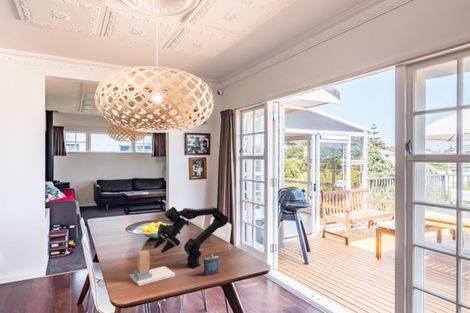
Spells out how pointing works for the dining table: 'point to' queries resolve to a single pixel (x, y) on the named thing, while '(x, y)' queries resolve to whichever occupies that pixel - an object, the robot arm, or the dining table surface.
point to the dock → (152, 275)
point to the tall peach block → (143, 262)
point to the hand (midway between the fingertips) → (157, 250)
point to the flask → (211, 265)
